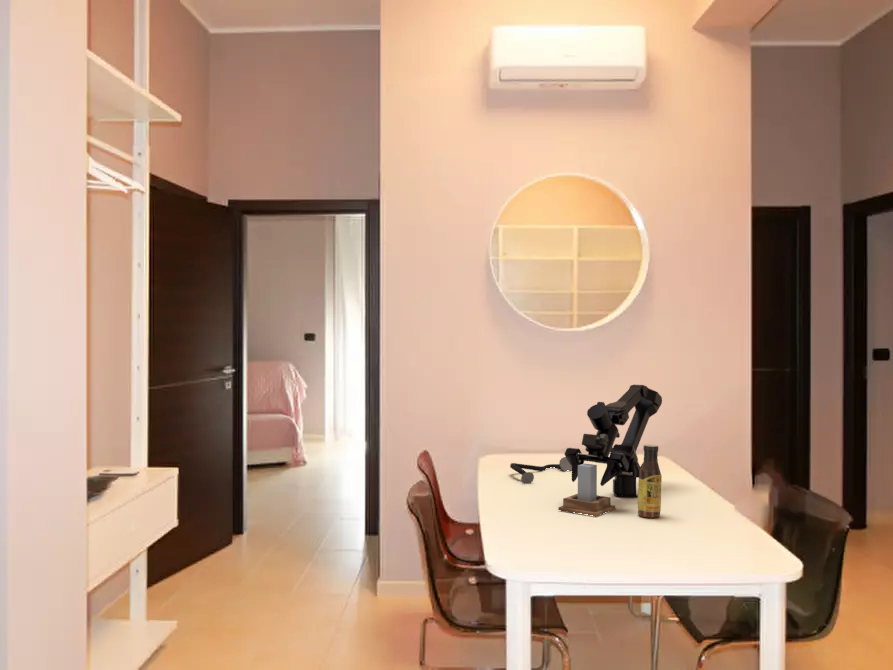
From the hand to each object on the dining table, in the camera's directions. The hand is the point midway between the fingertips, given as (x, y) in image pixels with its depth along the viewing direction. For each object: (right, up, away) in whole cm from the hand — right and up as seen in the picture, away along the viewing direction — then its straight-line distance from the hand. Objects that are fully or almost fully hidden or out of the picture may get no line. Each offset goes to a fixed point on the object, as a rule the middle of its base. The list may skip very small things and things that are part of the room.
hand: (586, 483), depth 224 cm
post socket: (0, -8, 0) cm, 8 cm away
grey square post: (0, -7, 0) cm, 7 cm away
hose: (-7, -8, +53) cm, 54 cm away
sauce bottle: (+16, -8, -7) cm, 19 cm away
